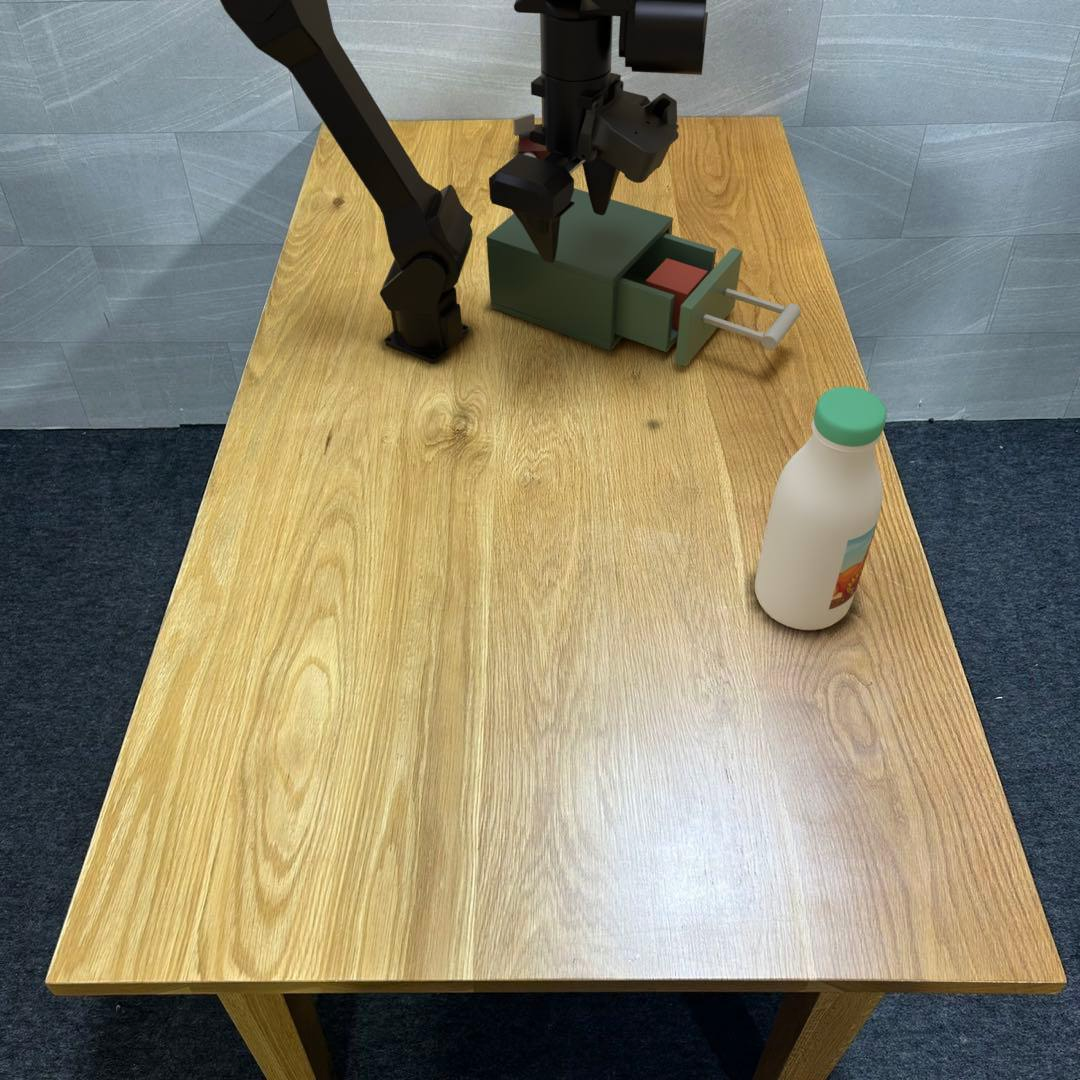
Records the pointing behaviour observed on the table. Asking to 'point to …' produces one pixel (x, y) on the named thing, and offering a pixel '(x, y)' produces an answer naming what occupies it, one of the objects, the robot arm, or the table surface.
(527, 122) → the toy gun
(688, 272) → the block
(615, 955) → the table surface
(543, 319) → the cabinet
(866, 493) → the milk bottle
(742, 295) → the drawer
